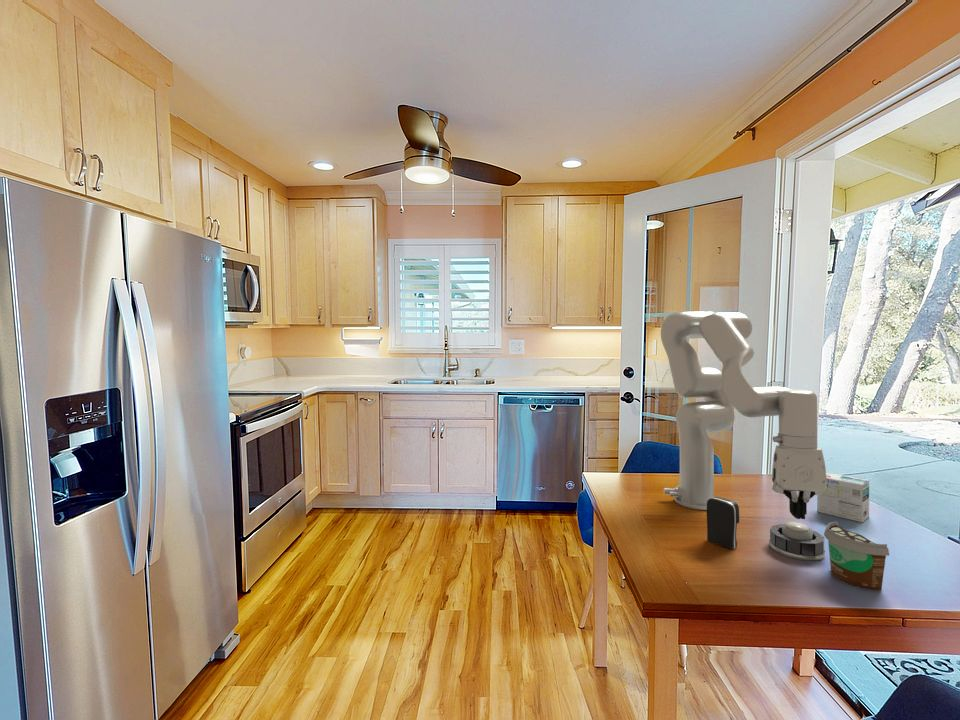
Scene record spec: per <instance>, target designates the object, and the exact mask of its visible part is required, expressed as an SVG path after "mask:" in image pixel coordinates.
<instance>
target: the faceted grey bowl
mask: <svg viewBox="0 0 960 720" xmlns="http://www.w3.org/2000/svg"><path fill="white" fill-rule="evenodd" d="M783 524H784V523H783ZM783 524H781V523H780V524H774V525H771V527H770V529H769V547H770V548H771V550H773V551H774V552H776V553H778V554H780V555H782V556H785V557H787V558H792V559H795V560H800V561H807V562H816V561H822V560H824V559H825V557H826V550H825V536H823V535H822V534H821V533H819V532H818V531H815V530H813V540H810V541H805V540H797V539H792V538H789V537H786V536H784V535H782V525H783Z"/></svg>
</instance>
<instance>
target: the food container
mask: <svg viewBox="0 0 960 720" xmlns="http://www.w3.org/2000/svg"><path fill="white" fill-rule="evenodd" d="M838 524H839V522H838V521H831V522H828V524H827V526H825V530H824V533H823V535H824V536H823V537H824V538H825V539H826V540H827V541H828V551H829V564H830V572H831V575H832V576H833V577H834V578H835V579H837V580H838V581H841V582H842V583H845V584H846V585H849V586H852V587H855V588H859V589H863V590H869V591H882V587H883V581H884V580H883V579H884V575H885V574H884V573H885V565H886V558H887V557H888V556H890V551H889V547H888V544H887V543H885V544H884V543H883V544H882V543H876V542H873V541H871V540H870V539H868V538H866V537H865V536H863V535H861V534H859V533H858V532H853V531H850V530H848V529H846V528H844V527H841V526H839V525H838Z"/></svg>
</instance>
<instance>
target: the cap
mask: <svg viewBox="0 0 960 720" xmlns="http://www.w3.org/2000/svg"><path fill="white" fill-rule="evenodd" d="M813 531H814V530H813V529H812V528H810V527H809V526H808V525H807V524H804V523H801V522H798V521H797V522H795V521H787V522H785V523H783V525H782V535H784V536H786V537H789V538H792V539H797V540H805V541H810V540H813Z"/></svg>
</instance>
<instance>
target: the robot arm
mask: <svg viewBox="0 0 960 720" xmlns="http://www.w3.org/2000/svg"><path fill="white" fill-rule="evenodd" d="M752 331H753V324H752V321H751V319H750V318H749V317H748V315H745V314H743V313H742V312H724V311H723V312H721V311H678V312H673V313H671V314H669V315H668V316H666V318H665V319H664V320H663V322H662V324H661V328H660V338H661V339H660V340H661V343H662V345H663V348H664V350H665V351H664V352H666V356H667V358H668V359H667V360H668V364H669V368H670V372H671V377H672V381H673V385H674V390H675V392H676V394H677V395H678V396H679V397H680V398H682V399H698V398H699V399H700V398H704V401H693V402H692V401H691V402H687V403H684V404H683V405H681V406H679V407H678V409H677V411H676V413H675V421H676V426H677V431H678V438H679V439H678V441H679V484H676V486H677V487H673V488H671V487H664V488H663V494H664V495H669V496H670V497H674V502H676V504H678V505H680V506H681V507H684V508H687V509H693V510H699V511H701V510H702V511H707V501H708V500H709V499H710V498H713V497H715V494H714V493H715V492H714V489H715V488H714V487H715V486H714V483H715V480H714V478H715V475H714V474H715V473H714V470H715V469H714V465H715V463H714V457H715V456H714V452H715V451H714V446H713V445H714V444H713V443H712V441H711V439H710V437H709V435H708V433H713V432H714V433H715V432H721V431H727V430H729V429H730V428H731V427H732V426H733V425H734V422H735V419H736V418H735V410H737V412H738V413H739V414H741V415H743V416H745V417H746V418H762V417H764V418H765V417H775V416H776V417H777V416H778V433H777V435H776V436H773V437H772V441H773V443H778V444H776V445H775V449H774V453H773V458H772V467H771V479H772V481H771V482H772V483H773V485H772V487H771V488H772V489H771V490H772V491H773V492H775V493H778V494H782V495H784V496H785V497H786V498H787V499H788V500H789V505H788V506H789V509H788V510H789V513H790V514H791V515H792V516H793V518H795V519H797V520H800V519H801V520H805V519H806V515H807V511H808V510H807V505H808V504H807V503H810V500H811V499H812V498H813V497H815V496H817V495H819V494H824V490H825V489H826V487H827V478H826V472H827V468H826V463H825V458H824V452H823V450H822V448H820V447H818V395H817V394H816V393H815V392H814V391H813V390H812V391H811V390H808V389H791V388H788V387H784V386H778V385H774V386H773V385H771V386H755V387H752V386H751V384H750V383H749V382H748V381H747V379H746V377H745V375H744V374H743V371H742V367H744V366H745V365H747V363H749V362H750V361H751V360H752V359H753V358H754V355H755V351H754V349H753V347H752V346H751V345H750V343H749V342H748V340H747V339H748V338H749V337H750V336H751V335H752ZM689 339H704V340H705V342H706V343H707V345H708V346H709V347H710V349H711V350H712V351H713V353H714V355H715V357H716V358H717V359H718V360H719V362H720V363H721V365H722V368H721V371H720V370H719V369H717V368H715V367H712V366H711V367H710V366H709V367H707V366H706V367H701V364H700V361H699V358H698V353H697V352H696V350H695V348H694V347H693V346H692V344H690V343H689V342H688V340H689ZM734 408H735V410H734ZM797 492H798V493H797Z"/></svg>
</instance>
